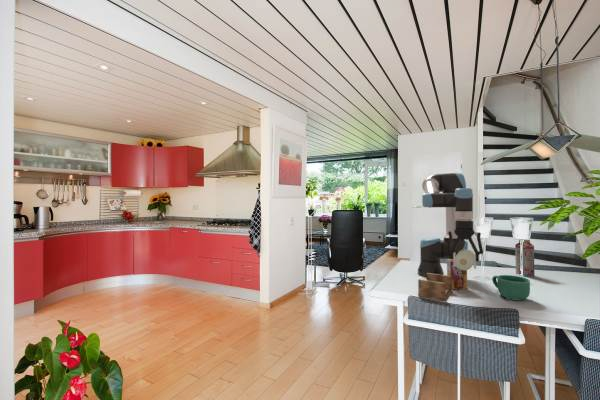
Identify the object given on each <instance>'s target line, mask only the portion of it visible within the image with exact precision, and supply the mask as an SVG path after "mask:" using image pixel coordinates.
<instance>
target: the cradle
mask: <svg viewBox="0 0 600 400" xmlns="http://www.w3.org/2000/svg"><path fill="white" fill-rule="evenodd" d="M417 285H418V287H417V289H418V294H417V295H418V297H420V298H427V299H432V300H437V301H438V300H439V301H444V302H445V301H446V300H447V299H448V297H450V295H451V294H452V292H453V289H452V276H447V274H446V275H445V274H444V275H439V274H431V273H427V277H426V279H421V278H419V279H417Z"/></svg>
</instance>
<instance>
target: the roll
mask: <svg viewBox="0 0 600 400" xmlns="http://www.w3.org/2000/svg"><path fill="white" fill-rule="evenodd" d="M474 254H475V252H474V251H472V250H470V249H468V250H467V249H464V250H461V251H460V252H459V253H458V254H457V255H456V256H455V257H454V264H455V266H456V267H457V268H458V269H460V270H467V271H468V270H471V269H472V267H474Z"/></svg>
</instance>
